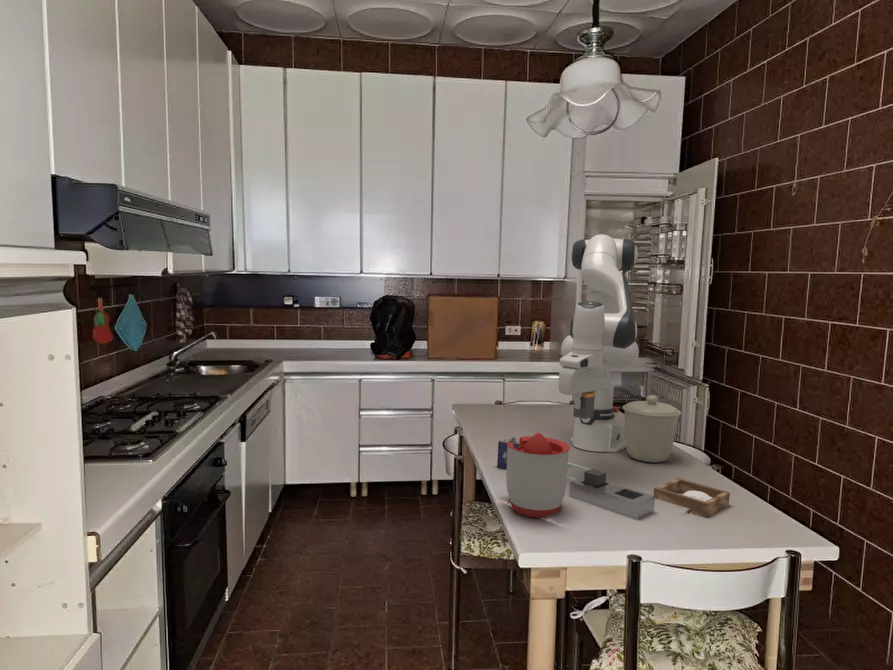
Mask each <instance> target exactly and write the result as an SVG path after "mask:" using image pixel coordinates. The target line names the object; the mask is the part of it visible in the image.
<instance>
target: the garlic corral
mask: <svg viewBox="0 0 893 670" xmlns="http://www.w3.org/2000/svg"><path fill="white" fill-rule="evenodd" d="M687 491H700V492H703V493H706V494H707V495H709V496H710V497H713V498H711V499H709V500H707V501H705V502H704V501H701V500H697V499H694V498H691V497H687V496H684V495H683V494H684V493H685V492H687ZM681 493H682V494H681ZM730 495H731V492H730V491H727V490H723V489H719V488H715V487H711V486H708V485H704V484H700V483H697V482H694V481H691V480H686V479H684V478H680V477H676V478H674V479H672V480H670V481H668V482H665V483H663V484H661V485H658V486H655V487H653V496H655V499H657V500H661V501H664V502H667V503H670V504H673V505H675V506H679V507H682V508H686V509H687V510H686V512H687V513H690V514H693V515H697V516H699V517H702V518H705V519H706V518H709V517H710V516H712V515H714V514H716V513H717V512H719V511H721V510H723V509H725V508H726V507H728V506H729V505H730Z"/></svg>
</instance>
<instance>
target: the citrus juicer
mask: <svg viewBox="0 0 893 670" xmlns="http://www.w3.org/2000/svg"><path fill="white" fill-rule="evenodd" d="M518 442H519V447H518V448H514V447H513V444H512V443H510V442H507V453H504V454H503V458H507V460H506V461H507V470H506V476H505V477H506V482H505V483H506V490H507V494H508V499H509V503H510V506H511V508H512V510H513V511H514V512H515V513H517V514H520V515H522V516H525V517H530V518H536V519H543V518H547V516H550V515H554V514H556V513H558V512H559V510H560V509H561V507H562V505H563V500H564V498H565V494H566V491H567V482H568V480H567V476H568V469H569V467H568V462H569V451H570V449H571V448H570V445H569V444H568V443H566V442H564V441H562V440H560V439H556V438H551V437H545V436H544V435H543V434H542V433H541V432H536V433H535V434H533V435H531V436H529V435H528V436H527V435H526V436H525V435H524V436H520V437H519V441H518Z"/></svg>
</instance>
